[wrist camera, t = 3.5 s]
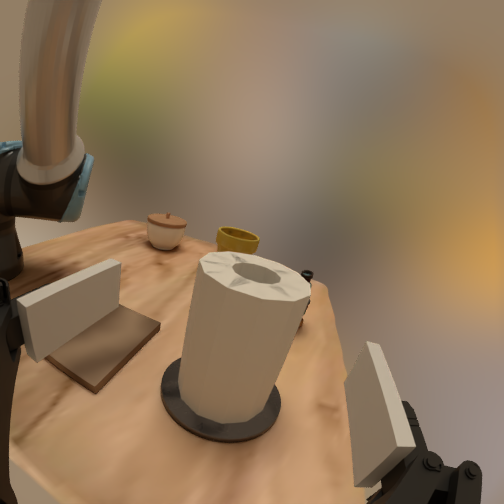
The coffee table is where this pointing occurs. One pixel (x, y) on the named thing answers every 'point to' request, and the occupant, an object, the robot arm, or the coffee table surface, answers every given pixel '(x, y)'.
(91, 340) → the cutting board
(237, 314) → the towel roll
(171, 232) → the lidded jar
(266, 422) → the disc
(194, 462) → the coffee table surface
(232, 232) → the plant pot
